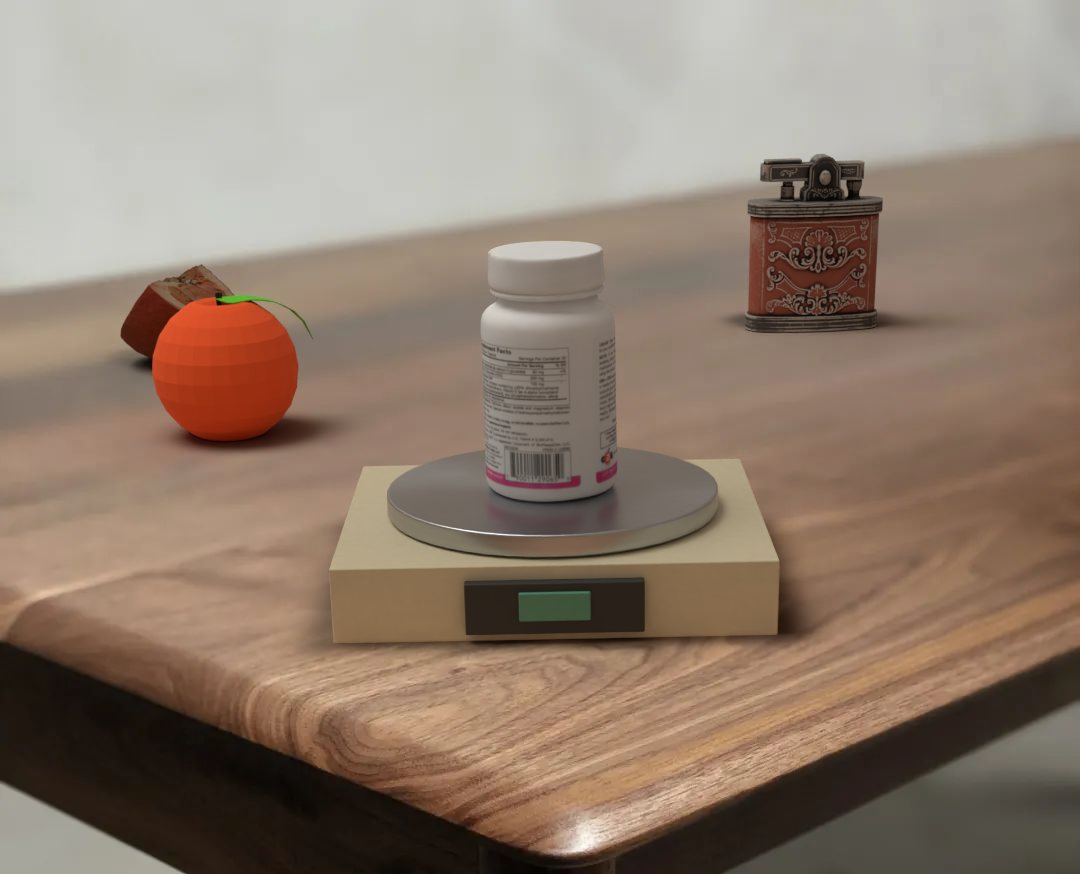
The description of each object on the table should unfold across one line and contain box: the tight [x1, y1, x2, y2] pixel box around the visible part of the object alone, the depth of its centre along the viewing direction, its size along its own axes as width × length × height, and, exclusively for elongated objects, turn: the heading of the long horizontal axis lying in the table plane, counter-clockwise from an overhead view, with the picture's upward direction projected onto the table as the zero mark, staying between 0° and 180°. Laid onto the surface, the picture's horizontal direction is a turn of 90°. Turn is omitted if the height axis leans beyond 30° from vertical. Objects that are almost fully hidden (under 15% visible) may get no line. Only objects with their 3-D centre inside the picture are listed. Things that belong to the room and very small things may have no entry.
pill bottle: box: [480, 240, 618, 502], centre depth 65 cm, size 5×5×8 cm
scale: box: [328, 458, 781, 644], centre depth 67 cm, size 15×14×3 cm
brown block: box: [119, 264, 236, 360], centre depth 106 cm, size 8×7×5 cm
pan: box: [387, 446, 718, 557], centre depth 67 cm, size 12×12×1 cm
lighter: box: [744, 153, 884, 333], centre depth 110 cm, size 8×3×10 cm, turn 94°
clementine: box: [151, 292, 314, 442], centre depth 88 cm, size 8×7×7 cm
